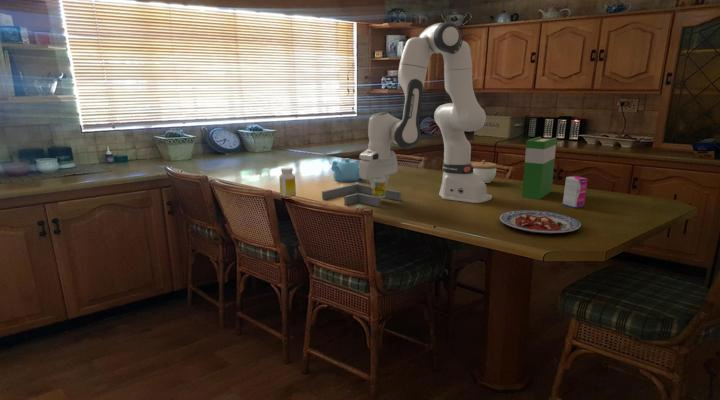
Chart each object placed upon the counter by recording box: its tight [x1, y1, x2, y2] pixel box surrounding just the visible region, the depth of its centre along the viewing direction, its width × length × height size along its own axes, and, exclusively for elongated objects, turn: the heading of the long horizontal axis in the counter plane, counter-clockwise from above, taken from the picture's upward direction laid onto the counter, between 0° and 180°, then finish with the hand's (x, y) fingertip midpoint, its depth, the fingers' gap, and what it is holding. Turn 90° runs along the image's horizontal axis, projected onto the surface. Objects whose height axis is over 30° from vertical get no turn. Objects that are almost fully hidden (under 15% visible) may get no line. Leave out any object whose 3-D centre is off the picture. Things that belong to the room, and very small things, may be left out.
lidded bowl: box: [470, 159, 498, 184], centre depth 229 cm, size 13×13×11 cm
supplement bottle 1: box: [278, 167, 297, 197], centre depth 200 cm, size 7×7×13 cm
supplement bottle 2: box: [372, 174, 387, 199], centre depth 194 cm, size 5×5×10 cm
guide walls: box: [321, 183, 402, 208], centre depth 197 cm, size 25×21×4 cm
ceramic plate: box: [499, 209, 582, 234], centre depth 161 cm, size 26×26×3 cm
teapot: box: [330, 157, 361, 183], centre depth 238 cm, size 15×15×11 cm
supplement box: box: [562, 175, 589, 209], centre depth 185 cm, size 6×6×12 cm
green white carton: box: [521, 136, 557, 200], centre depth 203 cm, size 18×7×24 cm, turn 144°
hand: (379, 186), depth 194 cm, fingers closed on supplement bottle 2, 5 cm apart
